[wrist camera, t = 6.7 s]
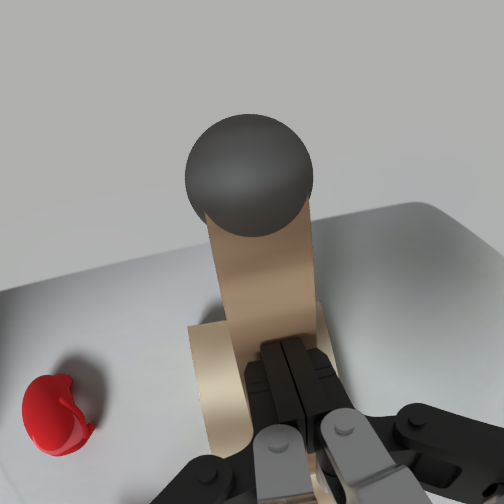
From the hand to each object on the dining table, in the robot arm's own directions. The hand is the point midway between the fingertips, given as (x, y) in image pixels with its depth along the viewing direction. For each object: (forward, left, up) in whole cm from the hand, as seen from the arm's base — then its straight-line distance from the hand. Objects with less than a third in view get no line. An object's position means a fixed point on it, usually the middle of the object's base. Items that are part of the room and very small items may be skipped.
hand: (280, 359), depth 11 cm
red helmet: (-16, -9, -14) cm, 23 cm away
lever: (+3, -6, -9) cm, 11 cm away
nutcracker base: (+2, -4, -14) cm, 14 cm away
